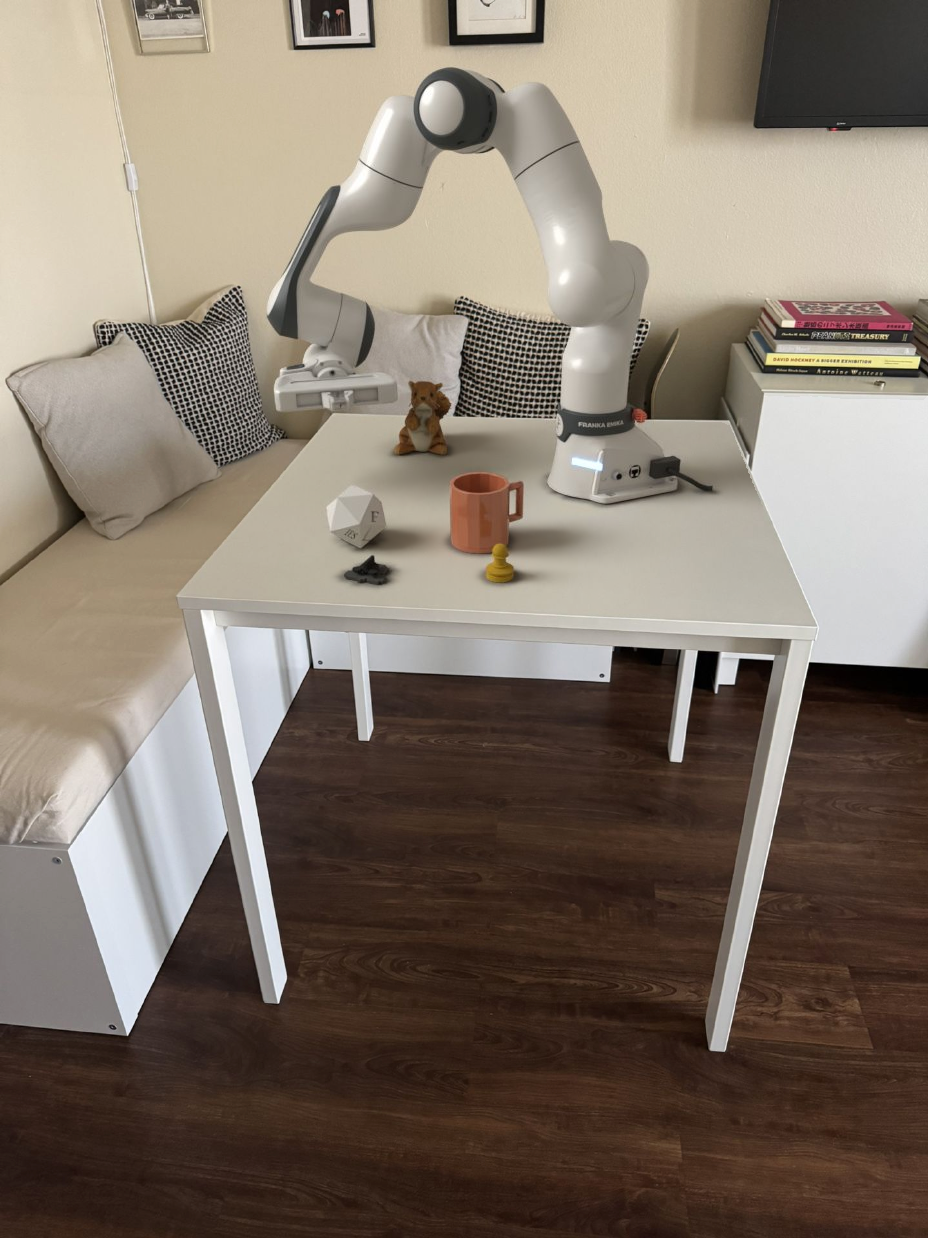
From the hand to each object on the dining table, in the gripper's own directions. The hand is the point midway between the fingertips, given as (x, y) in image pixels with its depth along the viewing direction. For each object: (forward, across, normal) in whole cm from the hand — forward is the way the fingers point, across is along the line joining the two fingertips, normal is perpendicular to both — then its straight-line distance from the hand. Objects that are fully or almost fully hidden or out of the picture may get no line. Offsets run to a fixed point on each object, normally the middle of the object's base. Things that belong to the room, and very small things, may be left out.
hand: (340, 405), depth 143 cm
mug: (+19, -19, -17) cm, 32 cm away
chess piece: (+32, -18, -17) cm, 40 cm away
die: (+15, 0, -17) cm, 23 cm away
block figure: (+27, 0, -17) cm, 32 cm away
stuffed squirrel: (-25, -18, -17) cm, 35 cm away
